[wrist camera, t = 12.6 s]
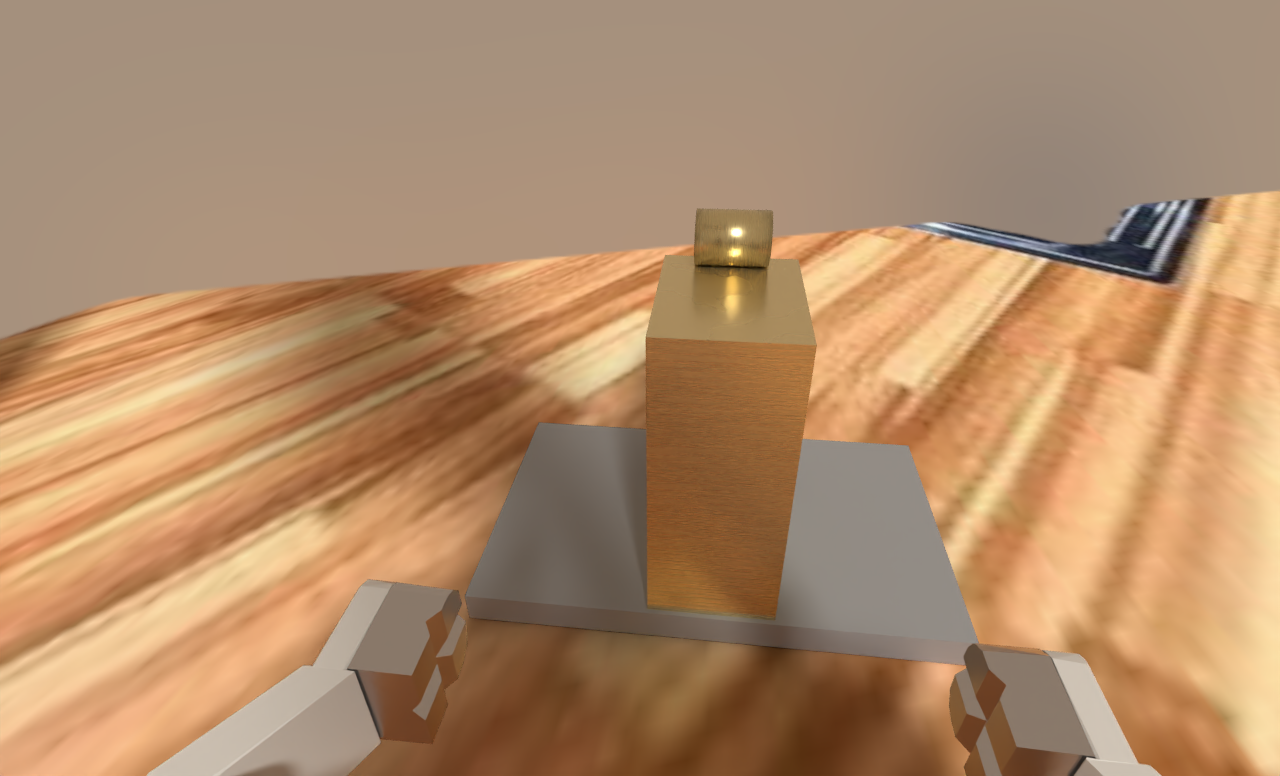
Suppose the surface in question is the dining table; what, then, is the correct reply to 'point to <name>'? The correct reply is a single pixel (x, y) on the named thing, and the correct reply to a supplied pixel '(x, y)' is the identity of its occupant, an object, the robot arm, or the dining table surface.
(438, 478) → the dining table surface
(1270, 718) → the dining table surface
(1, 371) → the dining table surface
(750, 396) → the tan block
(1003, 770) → the robot arm
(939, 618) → the gray base plate
